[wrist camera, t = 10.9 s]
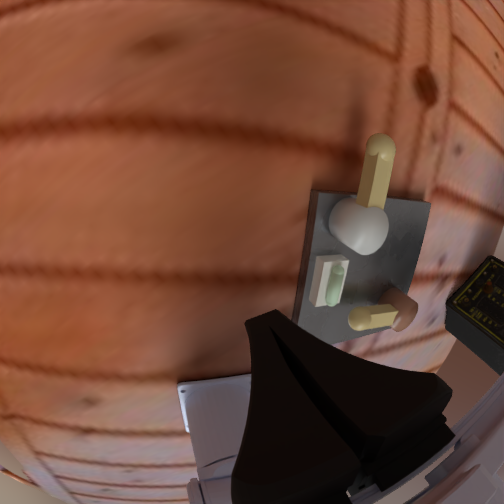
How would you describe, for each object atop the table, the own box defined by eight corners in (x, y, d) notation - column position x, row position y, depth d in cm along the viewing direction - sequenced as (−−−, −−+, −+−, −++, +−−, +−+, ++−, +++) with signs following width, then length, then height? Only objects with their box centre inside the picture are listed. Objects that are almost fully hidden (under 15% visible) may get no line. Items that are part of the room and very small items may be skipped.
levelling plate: (389, 321, 30) (395, 326, 29) (287, 345, 26) (291, 353, 25) (422, 200, 25) (431, 203, 24) (311, 189, 21) (319, 192, 19)
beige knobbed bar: (404, 286, 27) (424, 301, 24) (392, 314, 28) (411, 330, 25) (343, 289, 24) (364, 308, 21) (332, 322, 25) (350, 343, 22)
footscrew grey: (358, 241, 22) (383, 257, 19) (324, 239, 21) (348, 256, 18) (380, 138, 19) (409, 142, 16) (346, 126, 18) (375, 127, 15)
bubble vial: (332, 296, 24) (344, 308, 22) (308, 299, 23) (320, 313, 21) (341, 254, 22) (355, 264, 20) (316, 255, 22) (330, 267, 20)
